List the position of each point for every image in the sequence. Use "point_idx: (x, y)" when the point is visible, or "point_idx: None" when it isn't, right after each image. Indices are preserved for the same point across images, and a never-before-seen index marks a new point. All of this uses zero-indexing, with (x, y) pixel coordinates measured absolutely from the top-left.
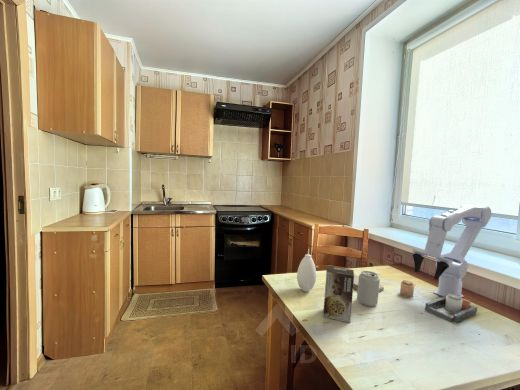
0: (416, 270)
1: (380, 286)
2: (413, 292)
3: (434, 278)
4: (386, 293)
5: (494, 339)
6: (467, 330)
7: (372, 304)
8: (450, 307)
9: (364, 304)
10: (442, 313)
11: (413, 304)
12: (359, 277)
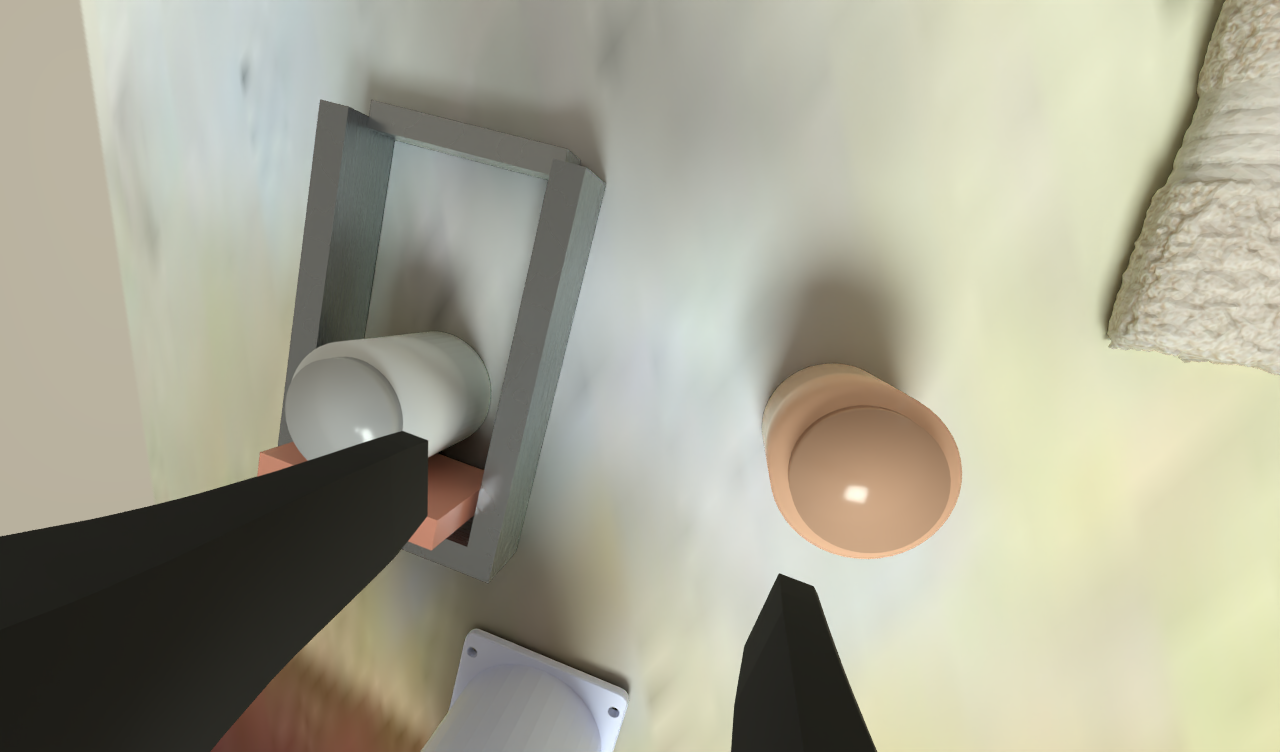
0: (779, 607)
1: (1190, 283)
2: (764, 442)
3: (416, 439)
4: (1039, 258)
5: (175, 87)
6: (299, 61)
7: None
8: (422, 335)
9: None
10: (445, 122)
11: (714, 207)
12: None
